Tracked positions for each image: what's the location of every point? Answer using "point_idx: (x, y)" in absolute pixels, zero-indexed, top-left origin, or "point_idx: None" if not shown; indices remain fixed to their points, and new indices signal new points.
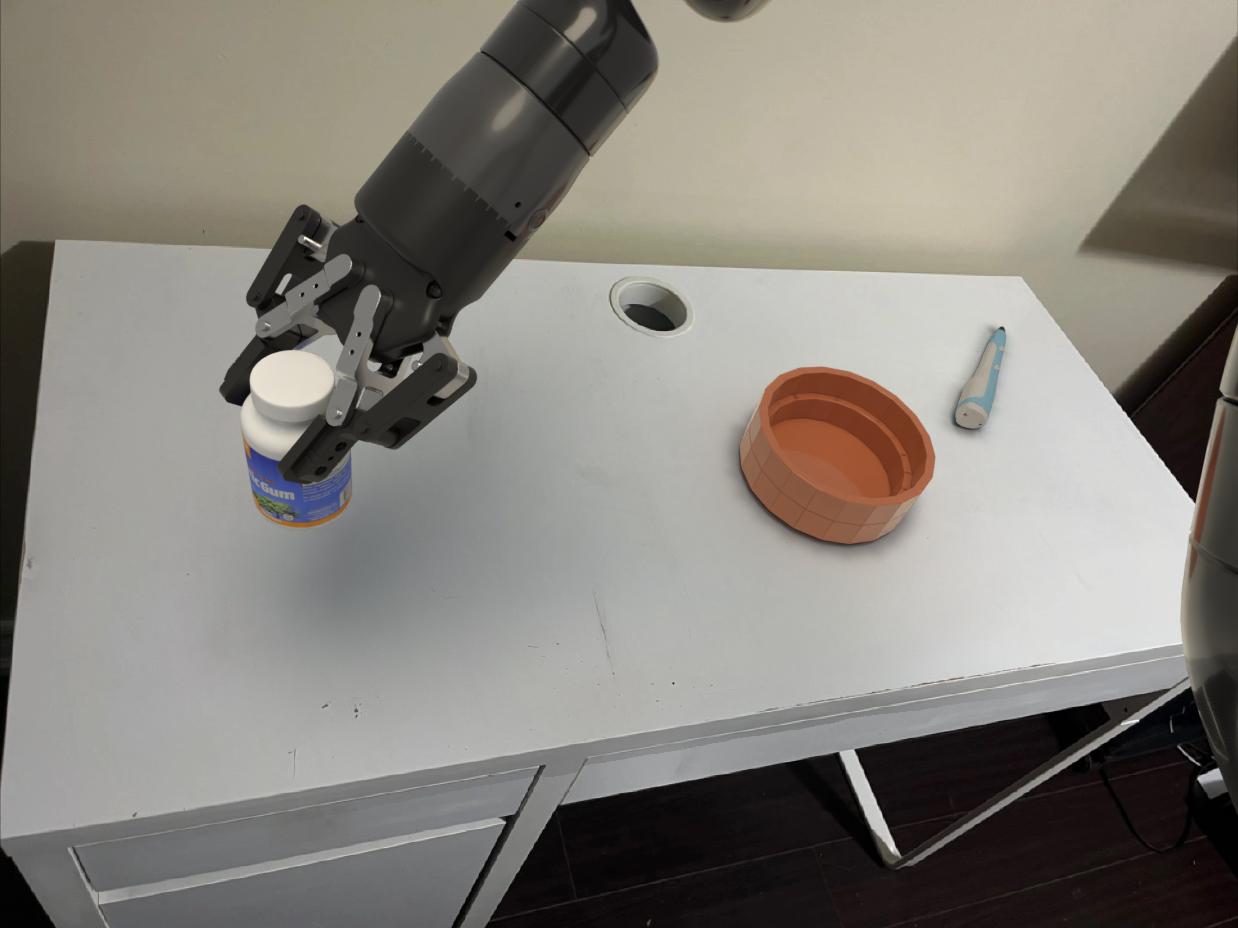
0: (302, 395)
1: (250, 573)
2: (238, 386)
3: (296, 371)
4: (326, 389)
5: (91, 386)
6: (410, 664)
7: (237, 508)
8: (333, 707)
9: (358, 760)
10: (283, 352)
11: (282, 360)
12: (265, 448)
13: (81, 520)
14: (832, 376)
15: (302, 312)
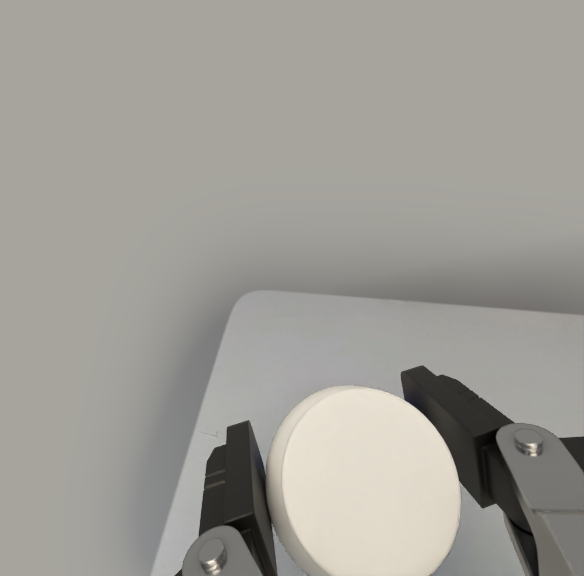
0: (309, 486)
1: None
2: (417, 390)
3: (386, 489)
4: (319, 553)
5: (576, 340)
6: None
7: None
8: None
9: (189, 481)
10: (450, 472)
11: (424, 464)
12: (290, 411)
13: (435, 327)
14: None
15: (554, 557)
